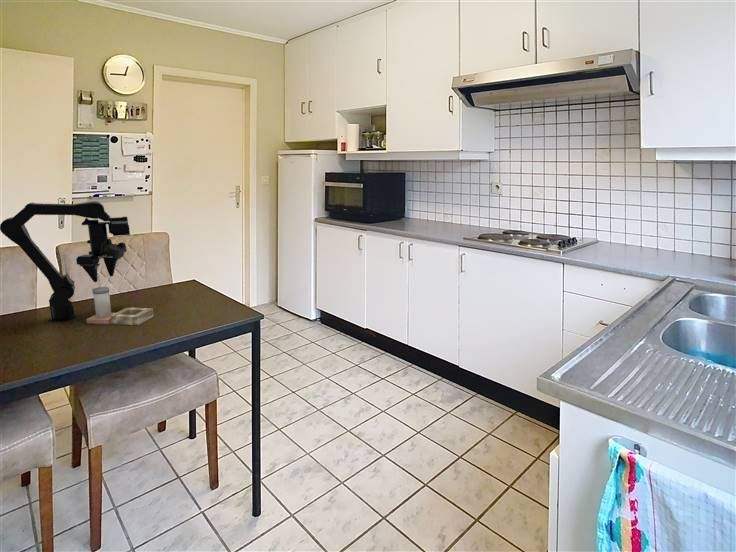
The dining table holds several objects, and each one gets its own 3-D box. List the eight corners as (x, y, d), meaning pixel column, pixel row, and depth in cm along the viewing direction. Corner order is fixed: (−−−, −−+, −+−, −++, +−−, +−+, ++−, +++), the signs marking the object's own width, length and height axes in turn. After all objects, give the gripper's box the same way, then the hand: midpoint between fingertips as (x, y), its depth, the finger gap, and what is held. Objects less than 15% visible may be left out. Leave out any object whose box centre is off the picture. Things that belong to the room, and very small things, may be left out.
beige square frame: (111, 324, 168) (110, 315, 167) (127, 315, 178) (126, 307, 177) (138, 325, 167) (137, 317, 167) (153, 316, 177) (152, 308, 176)
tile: (86, 323, 169) (86, 319, 169) (101, 316, 177) (100, 312, 176) (108, 324, 168) (107, 319, 168) (121, 316, 176) (121, 312, 176)
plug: (92, 318, 170) (88, 290, 168) (101, 313, 175) (98, 286, 173) (106, 318, 169) (102, 291, 167) (115, 314, 174) (112, 287, 172)
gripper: (103, 241, 164) (108, 286, 168) (134, 233, 182) (138, 273, 186) (72, 240, 165) (78, 285, 169) (106, 232, 183) (111, 273, 187)
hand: (103, 279), depth 178 cm, fingers open, 9 cm apart
